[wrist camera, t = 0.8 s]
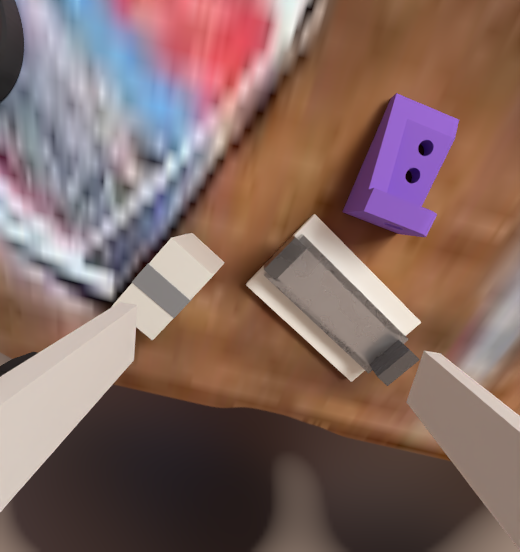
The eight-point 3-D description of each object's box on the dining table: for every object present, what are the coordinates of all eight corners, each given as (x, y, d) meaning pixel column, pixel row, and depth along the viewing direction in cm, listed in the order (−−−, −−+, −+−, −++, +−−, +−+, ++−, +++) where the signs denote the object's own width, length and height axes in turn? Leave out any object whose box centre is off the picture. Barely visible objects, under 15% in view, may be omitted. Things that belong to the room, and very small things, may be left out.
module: (143, 287, 32) (110, 306, 25) (192, 232, 31) (170, 237, 24) (176, 314, 33) (152, 341, 26) (224, 262, 31) (213, 276, 24)
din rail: (258, 267, 30) (258, 275, 26) (296, 228, 29) (301, 230, 25) (368, 370, 33) (381, 390, 29) (406, 338, 32) (425, 354, 28)
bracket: (396, 233, 30) (433, 238, 24) (341, 212, 30) (363, 210, 23) (448, 125, 28) (506, 96, 21) (389, 100, 27) (429, 62, 21)
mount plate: (246, 282, 32) (245, 285, 31) (313, 214, 30) (314, 213, 29) (348, 377, 34) (351, 381, 33) (416, 319, 32) (421, 322, 31)
